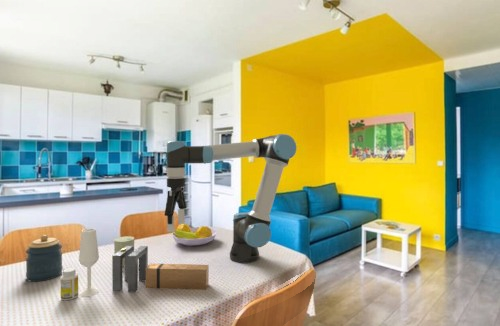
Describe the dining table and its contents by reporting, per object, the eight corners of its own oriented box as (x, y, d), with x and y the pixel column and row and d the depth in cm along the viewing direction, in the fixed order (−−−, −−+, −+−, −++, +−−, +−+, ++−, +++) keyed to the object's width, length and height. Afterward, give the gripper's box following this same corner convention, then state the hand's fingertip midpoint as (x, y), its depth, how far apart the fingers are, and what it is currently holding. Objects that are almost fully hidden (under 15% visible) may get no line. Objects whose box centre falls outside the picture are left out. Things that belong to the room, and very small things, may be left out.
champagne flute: (97, 295, 109) (96, 231, 108) (76, 297, 107) (76, 232, 106) (100, 287, 115) (100, 227, 115) (81, 289, 114) (81, 228, 113)
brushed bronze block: (208, 284, 119) (208, 264, 119) (206, 289, 114) (206, 269, 114) (150, 282, 120) (150, 263, 120) (145, 288, 115) (145, 268, 115)
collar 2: (147, 278, 124) (147, 246, 123) (135, 292, 112) (135, 256, 111) (140, 278, 124) (140, 246, 123) (127, 292, 112) (127, 255, 111)
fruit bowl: (204, 234, 193) (204, 217, 193) (224, 244, 171) (224, 225, 171) (162, 241, 178) (162, 222, 177) (178, 253, 155) (178, 232, 155)
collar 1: (133, 278, 124) (133, 244, 123) (120, 291, 112) (120, 254, 111) (126, 278, 124) (126, 244, 124) (112, 291, 112) (112, 254, 112)
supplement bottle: (75, 292, 111) (74, 265, 111) (80, 296, 108) (80, 269, 107) (58, 297, 107) (58, 270, 107) (63, 302, 104) (63, 274, 103)
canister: (39, 284, 118) (39, 240, 117) (18, 279, 122) (17, 237, 122) (69, 272, 130) (69, 232, 130) (49, 267, 135) (48, 229, 134)
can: (127, 266, 137) (127, 241, 136) (109, 265, 139) (109, 240, 138) (138, 259, 146) (138, 235, 146) (122, 258, 148) (121, 234, 147)
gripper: (177, 175, 136) (177, 220, 137) (155, 180, 112) (156, 235, 112) (192, 175, 136) (192, 220, 137) (174, 180, 111) (175, 235, 112)
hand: (176, 227), depth 124 cm, fingers open, 13 cm apart
